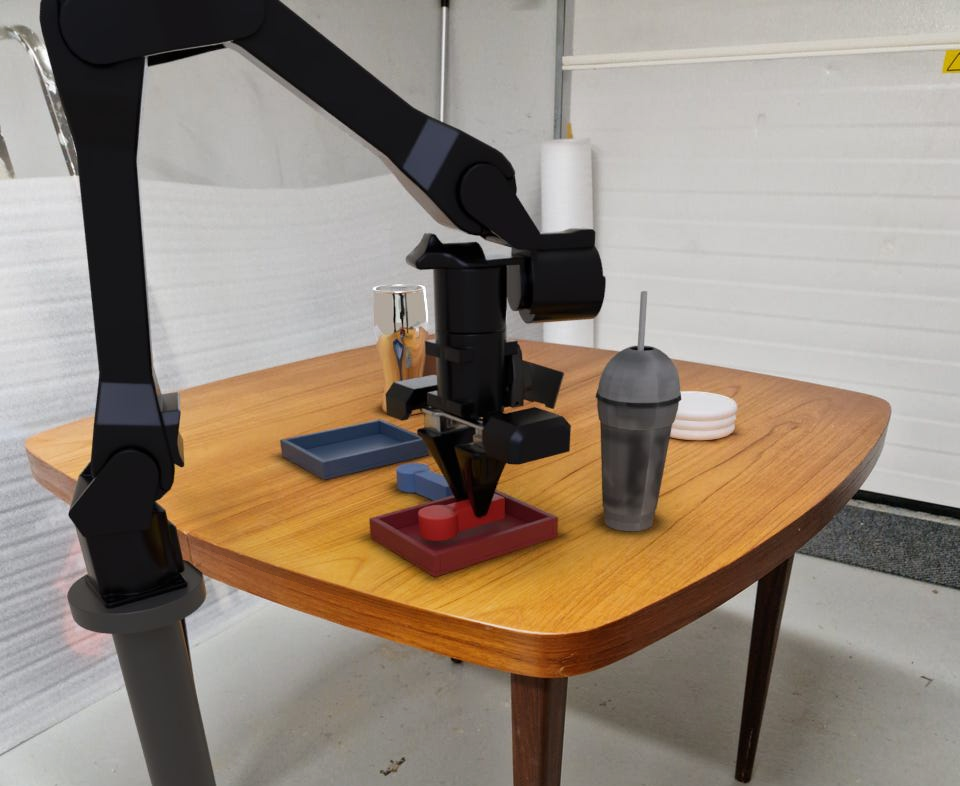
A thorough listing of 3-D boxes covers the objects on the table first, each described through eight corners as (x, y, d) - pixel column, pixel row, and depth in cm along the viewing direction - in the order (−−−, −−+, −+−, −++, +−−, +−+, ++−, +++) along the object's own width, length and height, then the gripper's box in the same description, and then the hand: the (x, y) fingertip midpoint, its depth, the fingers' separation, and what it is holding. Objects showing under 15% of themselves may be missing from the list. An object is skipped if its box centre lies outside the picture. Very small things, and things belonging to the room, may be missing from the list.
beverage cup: (673, 511, 80) (698, 284, 70) (662, 541, 74) (686, 297, 64) (597, 503, 83) (610, 281, 72) (580, 532, 77) (592, 294, 67)
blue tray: (324, 479, 89) (322, 462, 88) (281, 456, 97) (279, 439, 96) (428, 455, 96) (428, 438, 95) (381, 434, 103) (380, 418, 102)
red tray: (434, 577, 69) (433, 555, 68) (370, 537, 76) (368, 518, 75) (557, 536, 76) (558, 516, 75) (488, 504, 83) (488, 485, 82)
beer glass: (430, 416, 110) (425, 291, 103) (376, 416, 110) (367, 292, 103) (433, 402, 116) (428, 283, 109) (382, 402, 116) (374, 284, 109)
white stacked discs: (752, 432, 102) (756, 403, 100) (689, 446, 98) (692, 416, 96) (693, 413, 109) (696, 386, 108) (633, 425, 105) (635, 397, 103)
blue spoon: (467, 500, 84) (467, 480, 83) (440, 508, 82) (439, 489, 81) (417, 479, 89) (416, 460, 88) (390, 486, 87) (389, 467, 86)
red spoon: (487, 510, 79) (487, 489, 78) (510, 521, 76) (510, 500, 75) (411, 532, 74) (410, 510, 73) (433, 544, 72) (432, 522, 71)
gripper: (627, 332, 65) (614, 522, 73) (481, 302, 78) (483, 467, 86) (514, 351, 60) (512, 556, 67) (376, 316, 73) (388, 491, 80)
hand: (473, 512), depth 75 cm, fingers closed on red spoon, 2 cm apart
